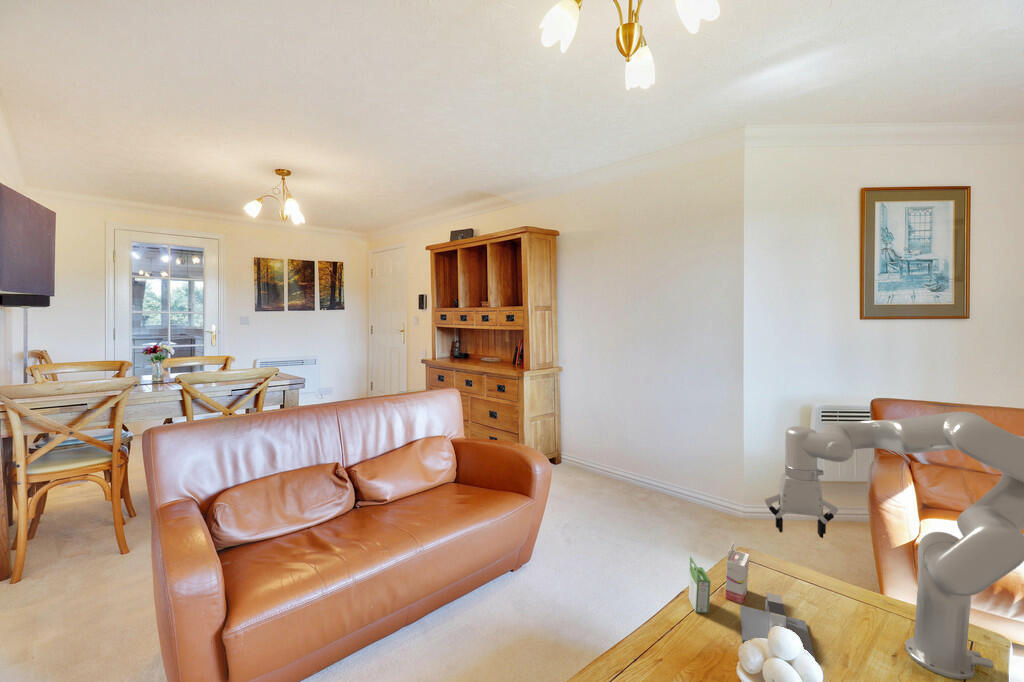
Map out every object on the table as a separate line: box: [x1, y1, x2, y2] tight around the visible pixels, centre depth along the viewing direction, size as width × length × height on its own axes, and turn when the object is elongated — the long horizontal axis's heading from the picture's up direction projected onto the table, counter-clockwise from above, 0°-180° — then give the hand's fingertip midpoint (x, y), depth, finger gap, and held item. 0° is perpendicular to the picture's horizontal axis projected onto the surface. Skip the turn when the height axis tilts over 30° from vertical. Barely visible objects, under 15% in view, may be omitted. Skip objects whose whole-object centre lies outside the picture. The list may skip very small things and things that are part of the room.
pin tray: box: [739, 604, 816, 659], centre depth 124 cm, size 16×15×5 cm
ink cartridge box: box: [724, 541, 750, 605], centre depth 140 cm, size 9×5×15 cm, turn 144°
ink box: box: [688, 555, 711, 614], centre depth 135 cm, size 7×4×13 cm, turn 175°
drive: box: [765, 592, 787, 633], centre depth 124 cm, size 4×10×7 cm, turn 156°
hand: (800, 533), depth 129 cm, fingers open, 9 cm apart
